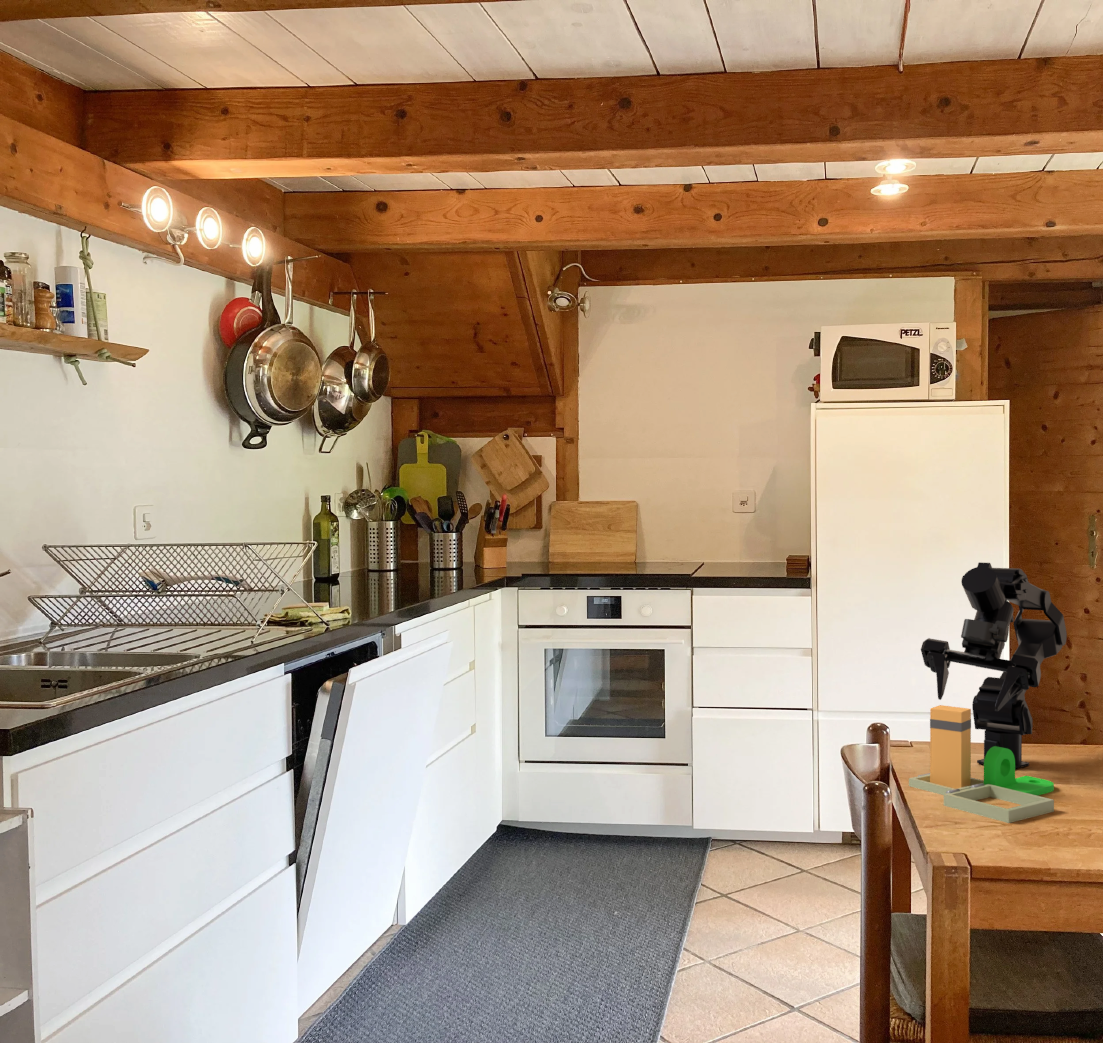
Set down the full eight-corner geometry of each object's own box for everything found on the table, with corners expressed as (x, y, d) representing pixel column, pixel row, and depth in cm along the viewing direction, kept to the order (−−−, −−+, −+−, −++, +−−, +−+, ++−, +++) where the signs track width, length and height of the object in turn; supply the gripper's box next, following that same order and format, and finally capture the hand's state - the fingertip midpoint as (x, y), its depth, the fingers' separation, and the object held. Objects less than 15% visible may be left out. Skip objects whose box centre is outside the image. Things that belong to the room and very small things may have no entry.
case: (985, 799, 170) (985, 781, 170) (1053, 816, 160) (1053, 798, 160) (940, 809, 164) (940, 791, 164) (1008, 828, 154) (1008, 809, 154)
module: (939, 784, 177) (940, 705, 177) (970, 789, 174) (971, 708, 174) (929, 788, 174) (930, 708, 174) (961, 794, 171) (961, 712, 170)
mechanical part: (1018, 807, 166) (1018, 755, 166) (983, 798, 171) (983, 748, 171) (1061, 795, 173) (1061, 745, 173) (1026, 787, 178) (1026, 739, 178)
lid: (944, 783, 180) (944, 771, 180) (992, 795, 173) (992, 782, 172) (908, 790, 175) (908, 778, 175) (956, 803, 168) (956, 790, 168)
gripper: (928, 592, 187) (903, 667, 180) (1044, 609, 177) (1022, 689, 169) (937, 629, 195) (913, 702, 187) (1049, 647, 184) (1028, 725, 177)
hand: (967, 704), depth 180 cm, fingers open, 9 cm apart
